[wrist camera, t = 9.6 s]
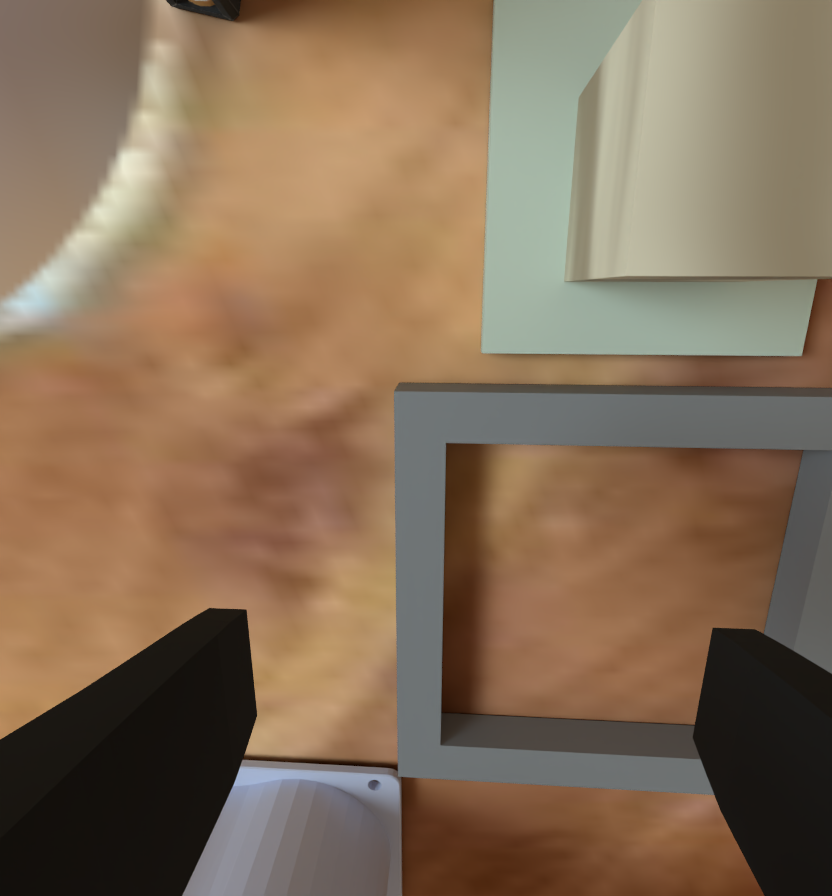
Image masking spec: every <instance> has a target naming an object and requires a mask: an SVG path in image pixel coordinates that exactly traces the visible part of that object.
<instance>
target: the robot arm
mask: <svg viewBox="0 0 832 896" xmlns="http://www.w3.org/2000/svg"><path fill="white" fill-rule="evenodd" d="M256 717H257V709H256V700H255V690H254V680H253V670H252V660H251V650H250V640H249V630H248V620H247V610H242V609H216V608H209V609H207V610H205V611H204V612H202V613H200V614H198V615H197V616H195V617H193V618H192V619H190V620H188V621H187V622H185V623H184V624H182V625H181V626H179V627H178V628H176V629H174V630H173V631H171V632H170V633H168V634H167V635H165V636H164V637H162V638H161V639H159V640H158V641H156V642H155V643H153V644H152V645H150V646H149V647H147V648H146V649H144V650H143V651H141V652H140V653H138V654H137V655H135V656H133V657H132V658H130V659H129V660H127V661H126V662H124V663H123V664H121V665H120V666H118V667H117V668H115V669H114V670H112V671H110V672H109V673H107V674H106V675H104V676H103V677H101V678H100V679H98V680H97V681H95V682H94V683H92V684H91V685H89V686H87V687H86V688H84V689H83V690H81V691H80V692H78V693H76V694H75V695H73V696H71V697H70V698H68V699H66V700H65V701H63V702H61V703H60V704H58V705H57V706H55V707H53V708H52V709H50V710H48V711H47V712H45V713H43V714H42V715H40V716H38V717H37V718H35V719H34V720H32V721H30V722H29V723H27V724H25V725H24V726H22V727H20V728H19V729H17V730H15V731H14V732H12V733H10V734H9V735H7V736H6V737H4V738H2V739H1V740H0V896H402V794H401V777H398V771H396V770H394V769H391V768H381V767H363V766H346V765H328V764H310V763H292V762H275V761H257V760H243V757H244V754H245V751H246V748H247V745H248V742H249V739H250V736H251V733H252V730H253V726H254V723H255V720H256ZM693 740H694V743H695V745H696V748H697V751H698V754H699V756H700V759H701V762H702V764H703V767H704V770H705V772H706V775H707V778H708V780H709V783H710V785H711V788H712V790H713V793H714V795H715V798H716V800H717V803H718V805H719V807H720V810H721V812H722V814H723V816H724V818H725V820H726V822H727V824H728V826H729V828H730V830H731V832H732V834H733V836H734V838H735V840H736V841H737V843H738V845H739V847H740V849H741V851H742V853H743V855H744V857H745V859H746V861H747V863H748V865H749V867H750V869H751V870H752V872H753V874H754V876H755V878H756V880H757V882H758V884H759V886H760V888H761V890H762V891H763V893H764V895H765V896H832V674H831V673H830V672H828V671H826V670H825V669H823V668H821V667H820V666H818V665H817V664H815V663H813V662H812V661H810V660H808V659H807V658H805V657H803V656H802V655H800V654H798V653H797V652H795V651H793V650H791V649H790V648H788V647H786V646H785V645H783V644H781V643H779V642H778V641H776V640H774V639H772V638H770V637H768V636H767V635H765V634H763V633H761V632H759V631H757V630H755V629H729V628H713V630H712V635H711V640H710V646H709V651H708V657H707V662H706V667H705V673H704V678H703V684H702V689H701V695H700V700H699V705H698V711H697V716H696V722H695V727H694V732H693ZM372 780H377V782H376V781H372Z"/></svg>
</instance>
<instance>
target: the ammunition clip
mask: <svg viewBox="0 0 832 896" xmlns="http://www.w3.org/2000/svg"><path fill="white" fill-rule="evenodd" d="M166 1H167V2H168V3H169V4H170V5H171V6H172V7H176V8H180V9H184V10H189V11H193V12H197V13H202V14H206V15H210V16H214V17H219V18H223V19H227V20H231V21H233V20H234V19H235V18H236V17H237V16H239V12H240V2H241V0H166Z"/></svg>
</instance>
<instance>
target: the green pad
mask: <svg viewBox="0 0 832 896" xmlns="http://www.w3.org/2000/svg"><path fill="white" fill-rule="evenodd" d="M641 1H642V0H493V26H492V54H491V82H490V110H489V137H488V165H487V193H486V221H485V249H484V277H483V305H482V333H481V352H482V353H510V354H623V355H735V356H802V352H803V347H804V342H805V338H806V333H807V328H808V323H809V318H810V313H811V308H812V303H813V299H814V294H815V289H816V284H817V279H807V280H778V281H749V282H564V275H565V263H566V250H567V237H568V225H569V212H570V200H571V187H572V174H573V162H574V149H575V137H576V124H577V111H578V99H579V96H580V95H581V93H582V92H583V90H584V88H585V87H586V85H587V84H588V82H589V81H590V79H591V78H592V76H593V75H594V73H595V72H596V70H597V69H598V67H599V66H600V64H601V63H602V61H603V59H604V58H605V56H606V55H607V53H608V52H609V50H610V49H611V47H612V46H613V44H614V43H615V41H616V40H617V38H618V37H619V35H620V34H621V32H622V30H623V29H624V27H625V26H626V24H627V23H628V21H629V20H630V18H631V17H632V15H633V14H634V12H635V11H636V9H637V8H638V6H639V5H640V3H641Z"/></svg>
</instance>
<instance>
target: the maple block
mask: <svg viewBox="0 0 832 896" xmlns="http://www.w3.org/2000/svg"><path fill="white" fill-rule="evenodd" d="M807 279H832V0H642V1H641V3H640V5H639V6H638V8H637V9H636V11H635V12H634V14H633V15H632V17H631V18H630V20H629V21H628V23H627V24H626V26H625V27H624V29H623V30H622V32H621V34H620V35H619V37H618V38H617V40H616V41H615V43H614V44H613V46H612V47H611V49H610V50H609V52H608V53H607V55H606V56H605V58H604V59H603V61H602V63H601V64H600V66H599V67H598V69H597V70H596V72H595V73H594V75H593V76H592V78H591V79H590V81H589V82H588V84H587V85H586V87H585V88H584V90H583V92H582V93H581V95H580V96H579V99H578V111H577V124H576V137H575V149H574V162H573V174H572V187H571V200H570V212H569V225H568V237H567V250H566V263H565V275H564V282H749V281H778V280H807Z"/></svg>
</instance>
